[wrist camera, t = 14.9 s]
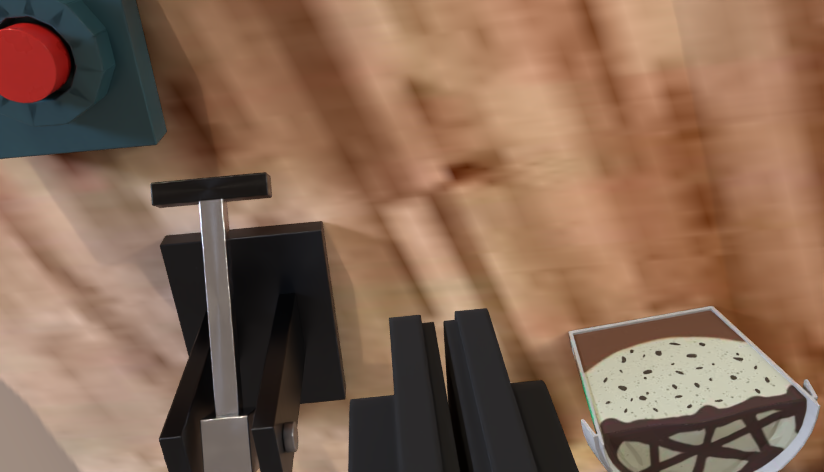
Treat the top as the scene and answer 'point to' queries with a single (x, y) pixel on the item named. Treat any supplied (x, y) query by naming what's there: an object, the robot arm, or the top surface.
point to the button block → (86, 82)
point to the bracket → (257, 338)
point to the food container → (688, 397)
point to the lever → (220, 313)
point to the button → (31, 62)
